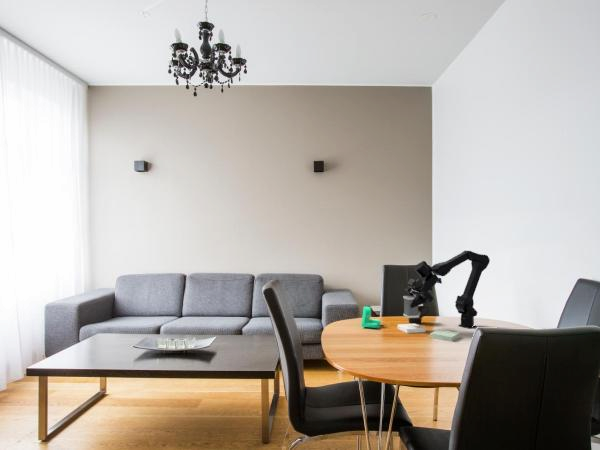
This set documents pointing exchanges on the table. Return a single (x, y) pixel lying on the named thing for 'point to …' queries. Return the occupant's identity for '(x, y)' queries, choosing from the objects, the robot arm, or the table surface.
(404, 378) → the table surface
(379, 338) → the table surface
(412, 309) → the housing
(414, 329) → the stand
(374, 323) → the camera mount
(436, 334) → the stand
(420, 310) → the coffee mug
